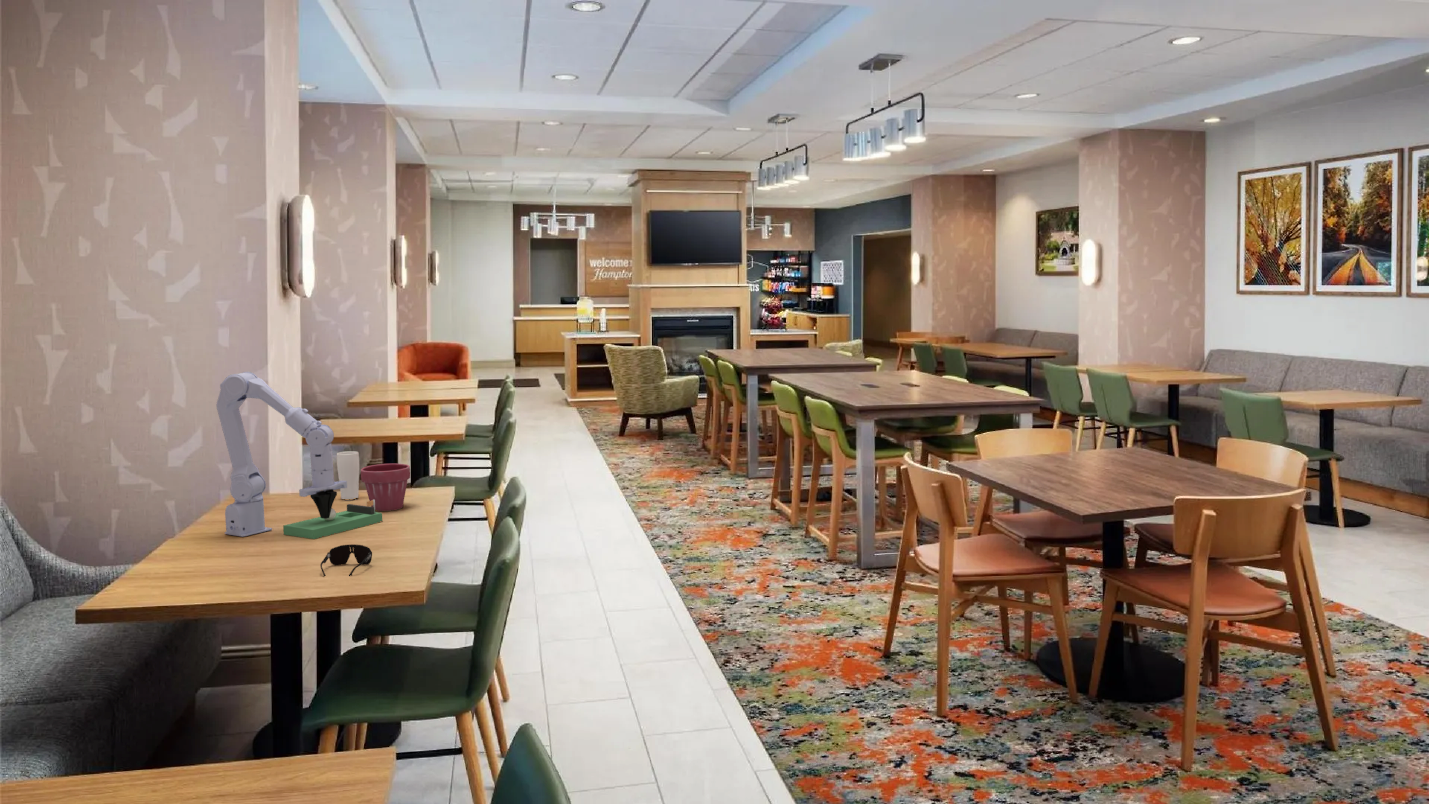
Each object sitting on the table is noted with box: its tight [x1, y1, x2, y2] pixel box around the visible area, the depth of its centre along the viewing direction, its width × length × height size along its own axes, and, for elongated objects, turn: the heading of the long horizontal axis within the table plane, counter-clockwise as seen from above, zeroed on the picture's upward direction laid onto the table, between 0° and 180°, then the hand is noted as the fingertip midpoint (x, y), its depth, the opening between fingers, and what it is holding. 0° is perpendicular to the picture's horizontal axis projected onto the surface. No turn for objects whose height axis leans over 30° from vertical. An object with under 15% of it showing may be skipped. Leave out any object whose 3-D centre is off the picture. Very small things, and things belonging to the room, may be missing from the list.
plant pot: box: [360, 463, 411, 512], centre depth 315 cm, size 14×14×13 cm
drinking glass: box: [336, 450, 360, 500], centre depth 330 cm, size 7×7×15 cm
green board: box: [282, 500, 383, 540], centre depth 290 cm, size 24×12×6 cm, turn 151°
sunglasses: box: [320, 543, 373, 577], centre depth 245 cm, size 10×12×5 cm
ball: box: [325, 508, 337, 521], centre depth 288 cm, size 4×4×4 cm
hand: (325, 517), depth 287 cm, fingers closed, pressing on ball
